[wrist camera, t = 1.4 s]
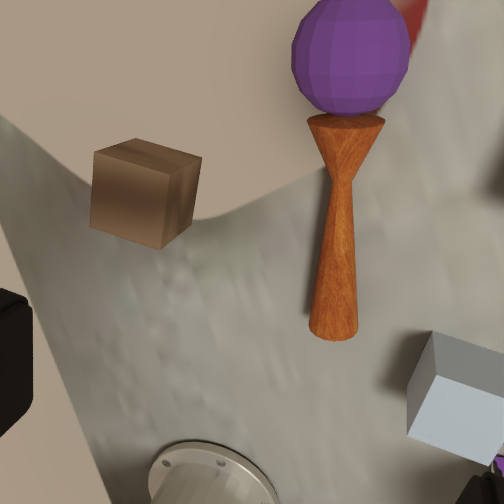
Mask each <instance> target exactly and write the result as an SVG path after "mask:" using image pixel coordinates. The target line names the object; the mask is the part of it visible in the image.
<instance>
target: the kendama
mask: <svg viewBox="0 0 504 504" xmlns="http://www.w3.org/2000/svg"><path fill="white" fill-rule="evenodd" d="M410 44H411V43H410V39H409V35H408V31H407V28H406V24H405V21H404V18H403V17H402V15H401V14H400V13H399V12H398V11H397V9H396V8H395V7H394V6H393V5H392V3H391V2H390V1H389V0H321V1H319V2H317V4H316V5H315V6H314V7H313V8H312V9H311V11H310V12H309V13H308V14H307V15H306V16H305V17H304V18H303V19H302V20H301V22H300V25H299V27H298V30H297V32H296V35H295V37H294V40H293V43H292V61H291V62H292V64H291V67H292V68H291V69H292V72H293V75H294V77H295V80H296V83H297V85H298V88H299V90H300V92H301V93H302V94H303V95H304V96H305V97H306V98H307V99H308V100H309V101H310V102H311V103H312V104H313V105H314V106H315V107H316V108H317V109H319V110H322V111H324V112H327V113H326V114H320V115H315V116H312V117H310V118H309V119H308V120H307V122H308V125H309V127H310V130H311V132H312V134H313V137H314V139H315V141H316V144H317V146H318V148H319V151H320V153H321V155H322V157H323V160H324V162H325V165H326V167H327V169H328V172H329V174H330V176H331V179H332V181H333V182H332V188H331V193H330V199H329V205H328V211H327V217H326V223H325V229H324V235H323V241H322V247H321V253H320V259H319V265H318V271H317V277H316V283H315V289H314V295H313V301H312V307H311V313H310V319H309V328H310V331H311V332H312V333H313V334H314V335H316V336H317V337H319V338H322V339H324V340H329V341H344V340H347V339H350V338H352V337H353V336H354V335H355V334H356V333H357V332H358V310H357V289H356V267H355V245H354V223H353V202H352V180H353V178H354V177H355V175H356V173H357V171H358V170H359V168H360V166H361V164H362V162H363V161H364V159H365V157H366V155H367V154H368V152H369V150H370V148H371V147H372V145H373V143H374V141H375V139H376V138H377V136H378V134H379V132H380V131H381V129H382V127H383V125H384V123H385V119H383V118H381V117H379V116H375V115H371V114H364V113H366V112H369V111H372V110H375V109H378V108H379V107H380V106H381V105H382V104H383V103H384V102H386V101H387V100H388V99H389V98H390V97H391V96H392V95H394V94H395V93H396V91H397V89H398V87H399V85H400V83H401V82H402V80H403V78H404V76H405V74H406V72H407V70H408V62H409V53H410Z"/></svg>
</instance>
